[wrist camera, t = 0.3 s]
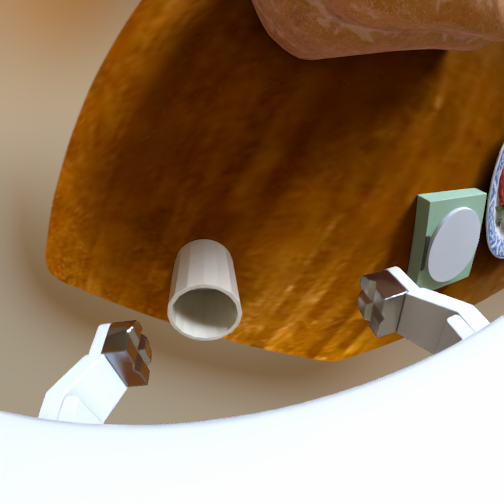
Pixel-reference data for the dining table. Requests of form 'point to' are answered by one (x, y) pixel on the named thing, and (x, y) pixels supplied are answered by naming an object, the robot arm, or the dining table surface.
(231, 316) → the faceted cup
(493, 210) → the ceramic plate
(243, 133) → the dining table surface
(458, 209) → the scale
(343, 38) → the bread
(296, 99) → the dining table surface
